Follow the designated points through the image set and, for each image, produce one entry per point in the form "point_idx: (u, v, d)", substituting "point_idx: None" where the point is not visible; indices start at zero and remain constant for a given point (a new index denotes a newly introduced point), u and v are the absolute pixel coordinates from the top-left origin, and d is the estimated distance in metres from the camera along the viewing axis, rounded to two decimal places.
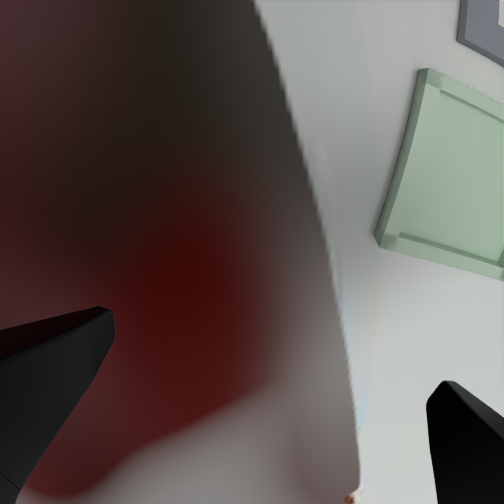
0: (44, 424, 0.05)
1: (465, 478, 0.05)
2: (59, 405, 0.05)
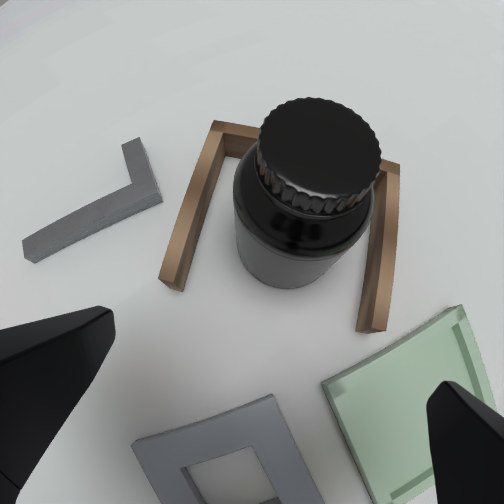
0: (44, 424, 0.05)
1: (465, 478, 0.05)
2: (59, 405, 0.05)
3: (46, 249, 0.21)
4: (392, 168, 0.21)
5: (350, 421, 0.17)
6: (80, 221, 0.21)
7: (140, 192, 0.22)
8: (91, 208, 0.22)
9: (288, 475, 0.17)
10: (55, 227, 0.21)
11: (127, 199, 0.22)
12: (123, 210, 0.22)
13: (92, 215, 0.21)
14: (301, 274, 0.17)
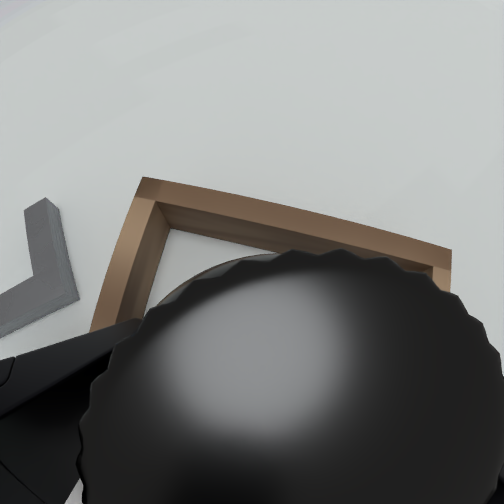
0: None
1: None
2: None
3: None
4: (440, 258, 0.12)
5: None
6: None
7: (43, 291, 0.13)
8: None
9: None
10: None
11: (28, 301, 0.13)
12: (27, 316, 0.13)
13: None
14: None
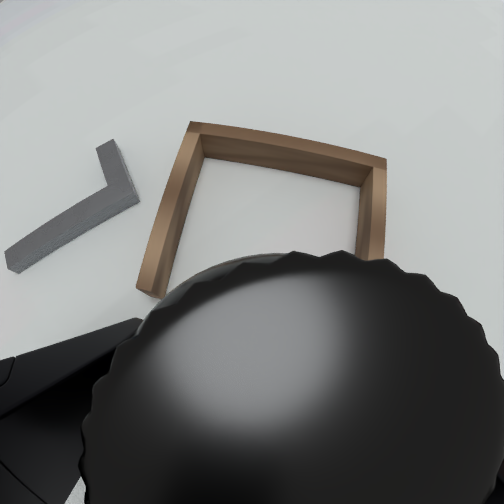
0: None
1: None
2: None
3: (28, 258, 0.20)
4: (378, 162, 0.20)
5: None
6: (59, 227, 0.20)
7: (116, 194, 0.21)
8: (69, 214, 0.21)
9: None
10: (35, 235, 0.20)
11: (104, 201, 0.21)
12: (100, 213, 0.21)
13: (70, 220, 0.21)
14: None
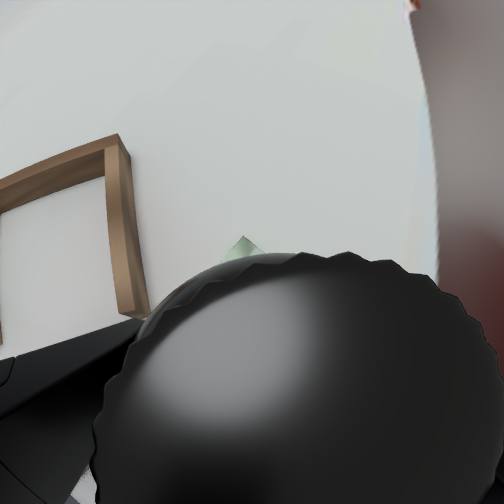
0: (84, 445, 0.05)
1: None
2: None
3: None
4: (109, 141, 0.19)
5: None
6: None
7: None
8: None
9: None
10: None
11: None
12: None
13: None
14: None
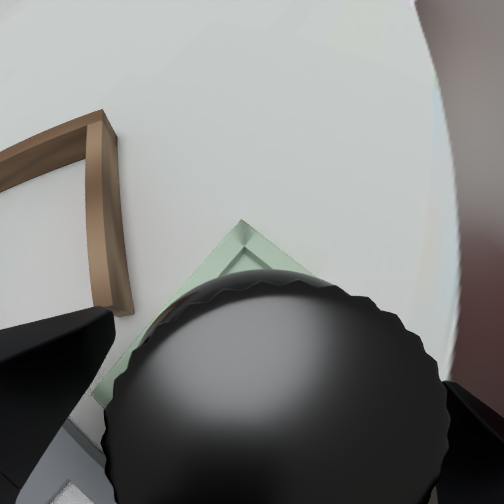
0: (44, 424, 0.05)
1: (465, 478, 0.05)
2: (59, 405, 0.05)
3: None
4: (93, 117, 0.17)
5: None
6: None
7: None
8: None
9: None
10: None
11: None
12: None
13: None
14: None
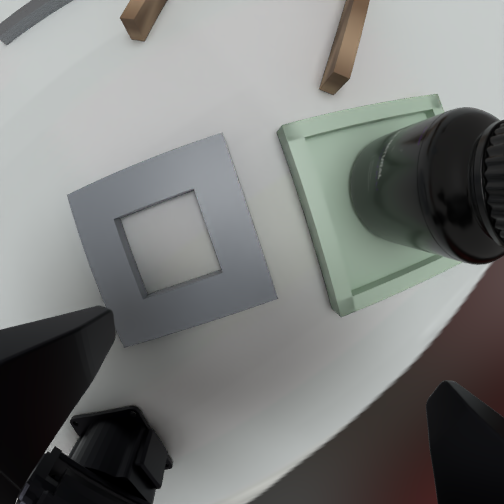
0: (44, 424, 0.05)
1: (465, 478, 0.05)
2: (59, 405, 0.05)
3: (19, 25, 0.15)
4: None
5: (306, 172, 0.17)
6: None
7: None
8: None
9: (231, 232, 0.18)
10: (30, 4, 0.14)
11: None
12: None
13: None
14: (413, 245, 0.14)
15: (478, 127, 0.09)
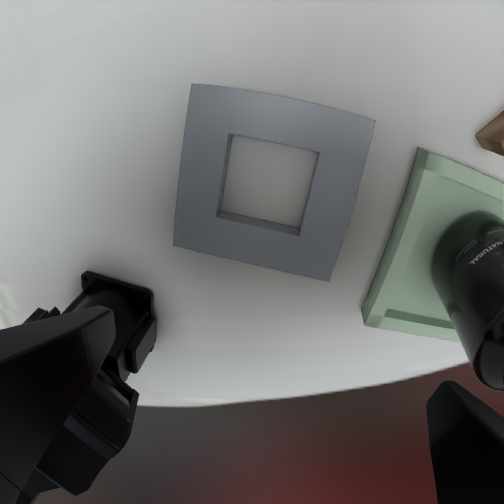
0: (44, 424, 0.05)
1: (465, 478, 0.05)
2: (59, 405, 0.05)
3: None
4: None
5: (420, 204, 0.16)
6: None
7: None
8: None
9: (328, 210, 0.18)
10: None
11: None
12: None
13: None
14: (454, 326, 0.15)
15: None
